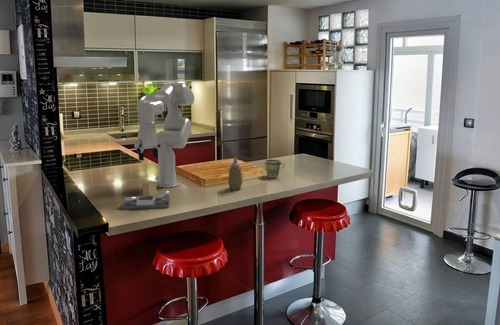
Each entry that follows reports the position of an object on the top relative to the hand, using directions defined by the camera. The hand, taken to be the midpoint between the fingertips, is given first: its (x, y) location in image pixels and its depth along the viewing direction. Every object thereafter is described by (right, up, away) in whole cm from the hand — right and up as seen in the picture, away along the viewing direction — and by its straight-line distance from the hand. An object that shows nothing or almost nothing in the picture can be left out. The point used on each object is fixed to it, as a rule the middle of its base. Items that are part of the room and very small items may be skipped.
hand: (148, 158), depth 226 cm
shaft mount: (+1, -23, -12) cm, 26 cm away
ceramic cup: (+68, -11, +50) cm, 85 cm away
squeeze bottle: (+44, -17, +21) cm, 52 cm away
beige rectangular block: (0, -20, +4) cm, 20 cm away
